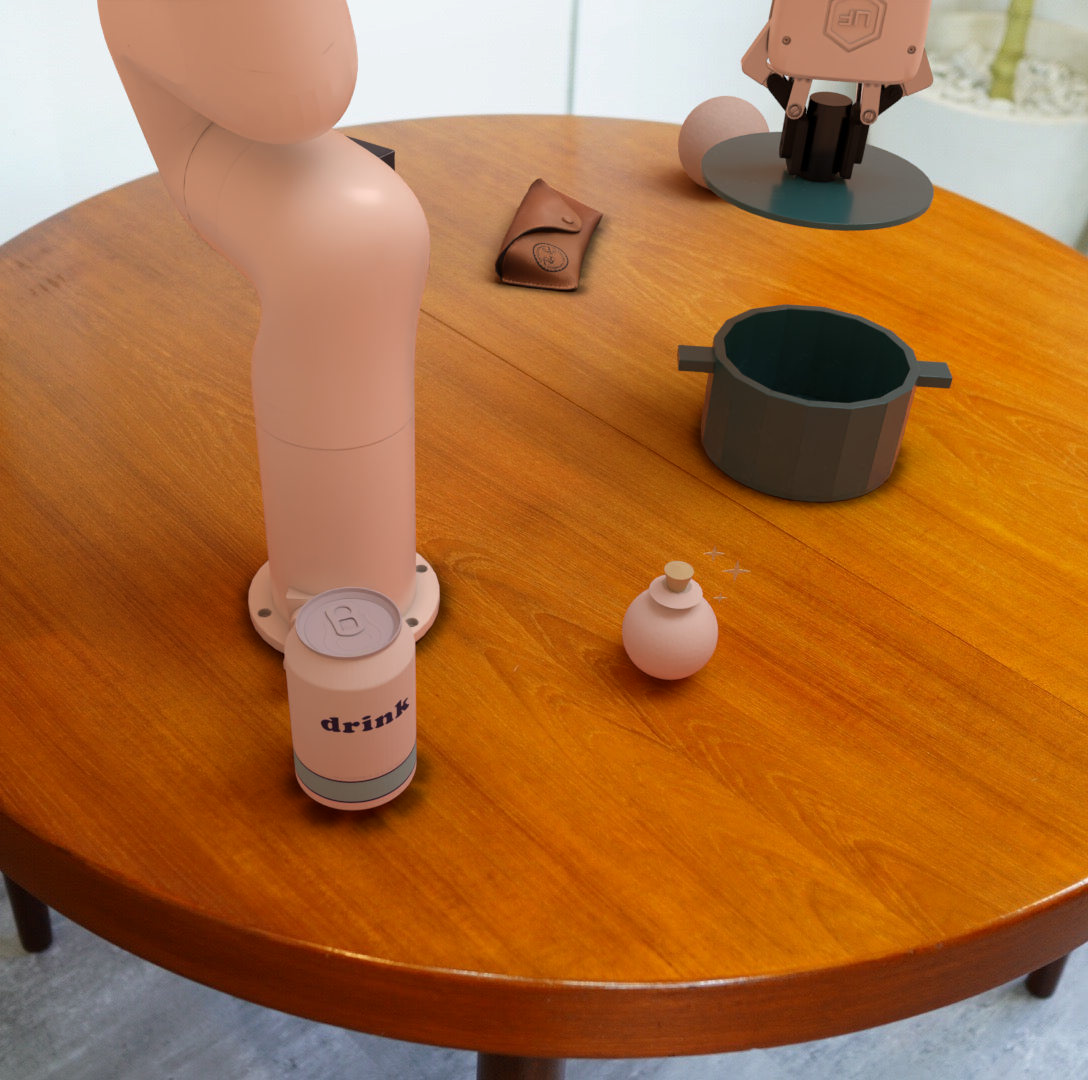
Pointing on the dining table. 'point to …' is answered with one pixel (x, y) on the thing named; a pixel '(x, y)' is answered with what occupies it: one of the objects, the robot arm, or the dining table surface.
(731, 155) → the lid
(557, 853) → the dining table surface
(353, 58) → the robot arm
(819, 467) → the pot
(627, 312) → the dining table surface
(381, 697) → the beverage can
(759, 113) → the ball
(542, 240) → the sunglasses case
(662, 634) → the potion bottle
